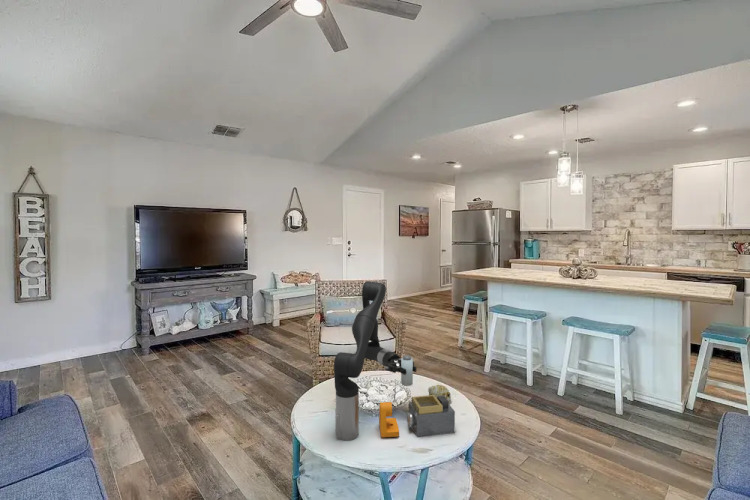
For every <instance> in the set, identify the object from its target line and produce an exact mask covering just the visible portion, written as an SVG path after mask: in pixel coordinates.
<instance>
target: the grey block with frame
mask: <svg viewBox="0 0 750 500" xmlns="http://www.w3.org/2000/svg"><path fill="white" fill-rule="evenodd" d="M408 404H409V405H408V409H409V410H408V412H406V423H407V426H408V427H410V428H411V429H412V431H413V433H414V434H415V436H416V438H423V437H429V436H438V435H446V434H447V435H448V434H455V431H456V430H455V428H456V427H455V425H456V423H455V422H456V419H455V418H456V417H455V416H456V413H455V412H456V411H455V410H454V409H453V408H452V406H451V404H448V400H447V399H446V398H445V396H437V398H436V397H435V395H429V394H428V395H420V396H419V395H417V396H411V401H410V402H408Z"/></svg>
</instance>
